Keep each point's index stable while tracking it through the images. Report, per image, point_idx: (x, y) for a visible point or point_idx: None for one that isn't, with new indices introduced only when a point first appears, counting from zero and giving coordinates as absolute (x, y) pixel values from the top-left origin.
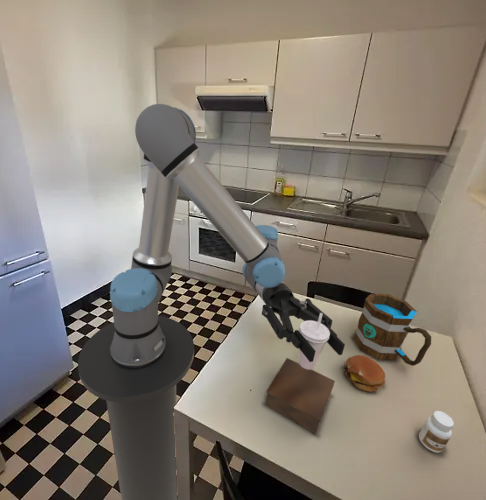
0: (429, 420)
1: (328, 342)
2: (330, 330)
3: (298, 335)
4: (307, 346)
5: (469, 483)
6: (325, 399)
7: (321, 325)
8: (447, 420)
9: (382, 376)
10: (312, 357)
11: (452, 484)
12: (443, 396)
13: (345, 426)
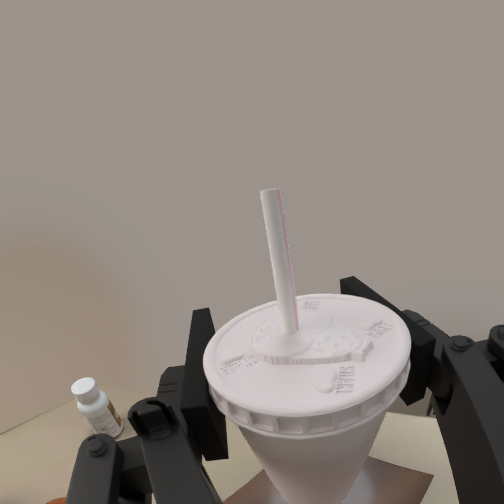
0: (94, 405)
1: None
2: (186, 369)
3: (410, 320)
4: (369, 288)
5: (122, 393)
6: (265, 475)
7: (227, 376)
8: (82, 382)
9: (60, 498)
10: None
11: (141, 395)
12: (15, 455)
13: (229, 474)
